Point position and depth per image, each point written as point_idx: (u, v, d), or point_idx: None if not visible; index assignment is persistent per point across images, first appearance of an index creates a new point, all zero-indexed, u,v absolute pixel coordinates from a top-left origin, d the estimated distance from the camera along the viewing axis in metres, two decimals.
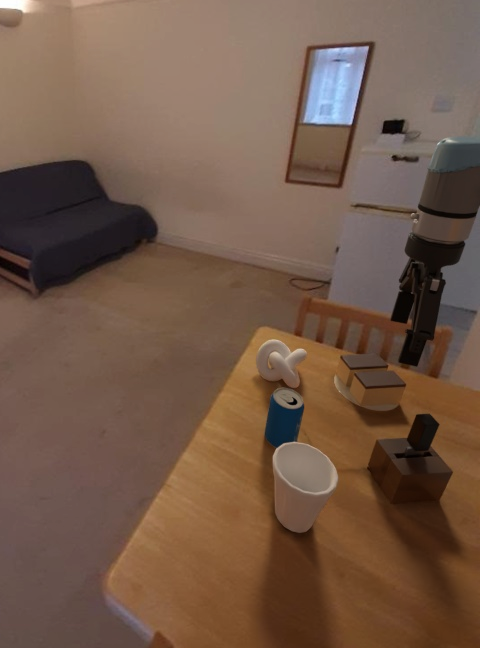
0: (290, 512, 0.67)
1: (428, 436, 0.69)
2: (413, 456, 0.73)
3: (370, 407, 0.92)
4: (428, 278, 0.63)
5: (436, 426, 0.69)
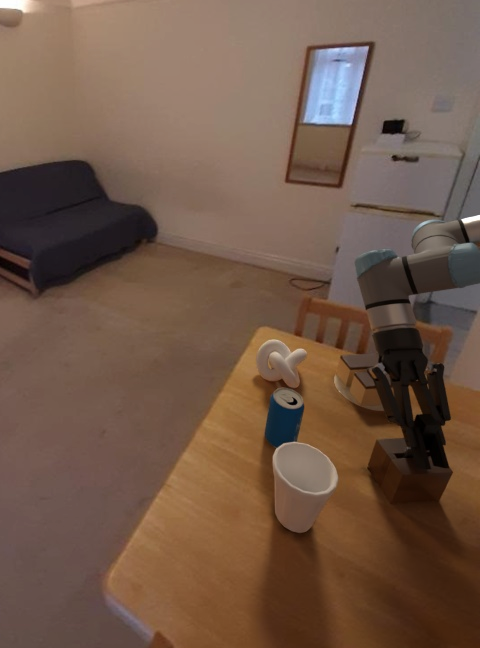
0: (290, 512, 0.67)
1: (428, 436, 0.69)
2: None
3: (370, 407, 0.92)
4: (367, 369, 0.75)
5: (436, 427, 0.69)
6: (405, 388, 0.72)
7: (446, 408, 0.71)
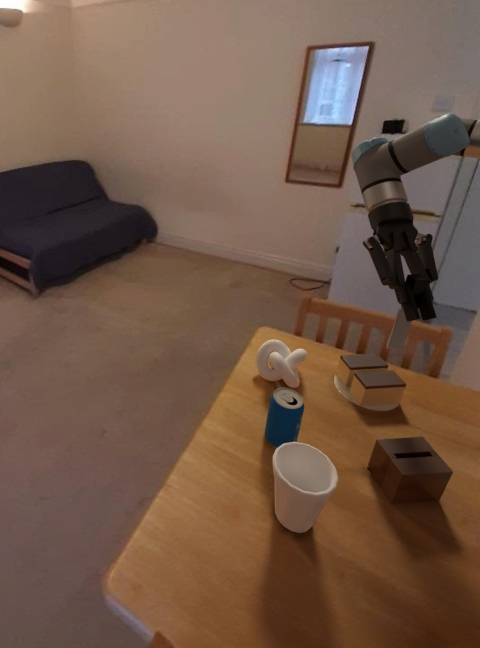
0: (290, 512, 0.67)
1: (418, 292, 0.77)
2: (405, 317, 0.81)
3: (370, 407, 0.92)
4: (363, 241, 0.83)
5: (425, 282, 0.76)
6: (398, 253, 0.80)
7: (434, 270, 0.79)
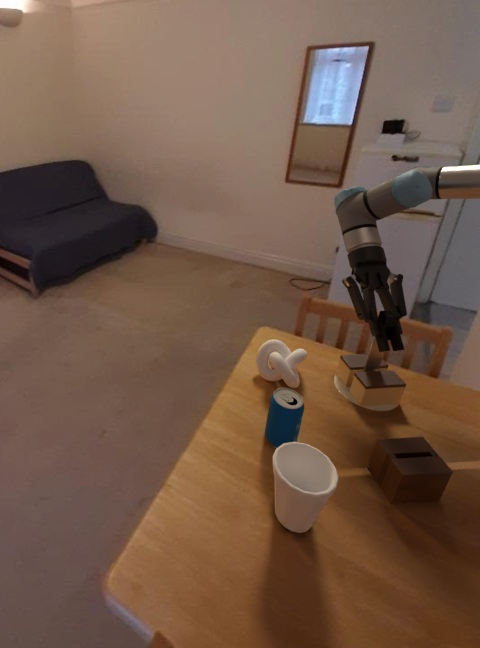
0: (290, 512, 0.67)
1: (389, 326, 0.88)
2: None
3: (370, 407, 0.92)
4: (342, 280, 0.94)
5: (395, 318, 0.88)
6: (372, 292, 0.91)
7: (403, 306, 0.90)
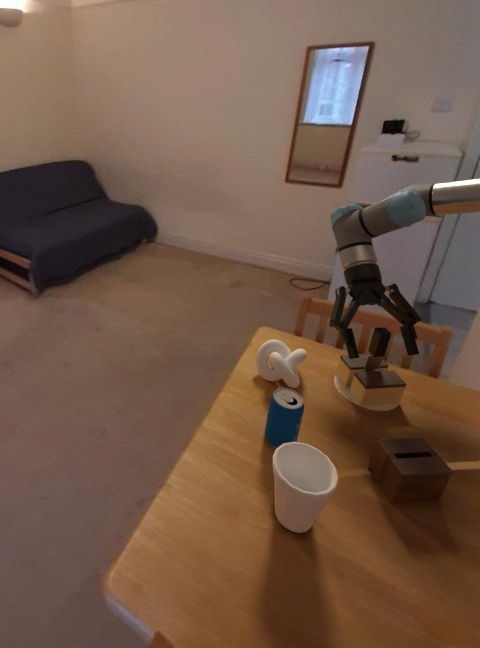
0: (290, 512, 0.67)
1: (383, 343, 0.90)
2: (373, 363, 0.94)
3: (370, 407, 0.92)
4: None
5: (389, 335, 0.90)
6: (357, 305, 0.93)
7: (414, 313, 0.93)
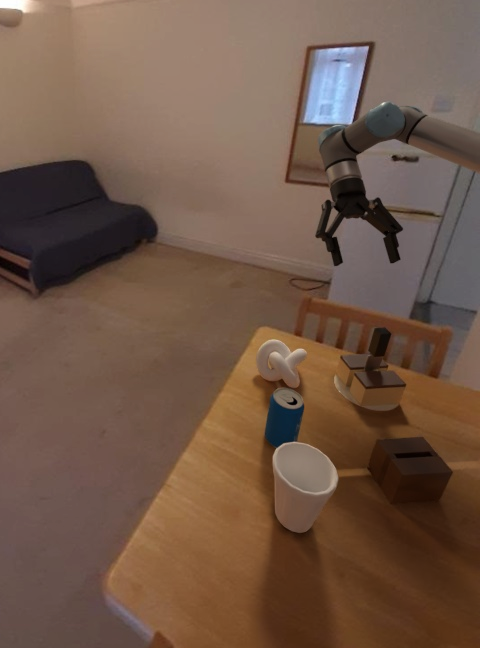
0: (290, 512, 0.67)
1: (383, 343, 0.90)
2: (373, 363, 0.94)
3: (370, 407, 0.92)
4: None
5: (389, 335, 0.90)
6: (342, 216, 0.97)
7: (396, 223, 0.97)
